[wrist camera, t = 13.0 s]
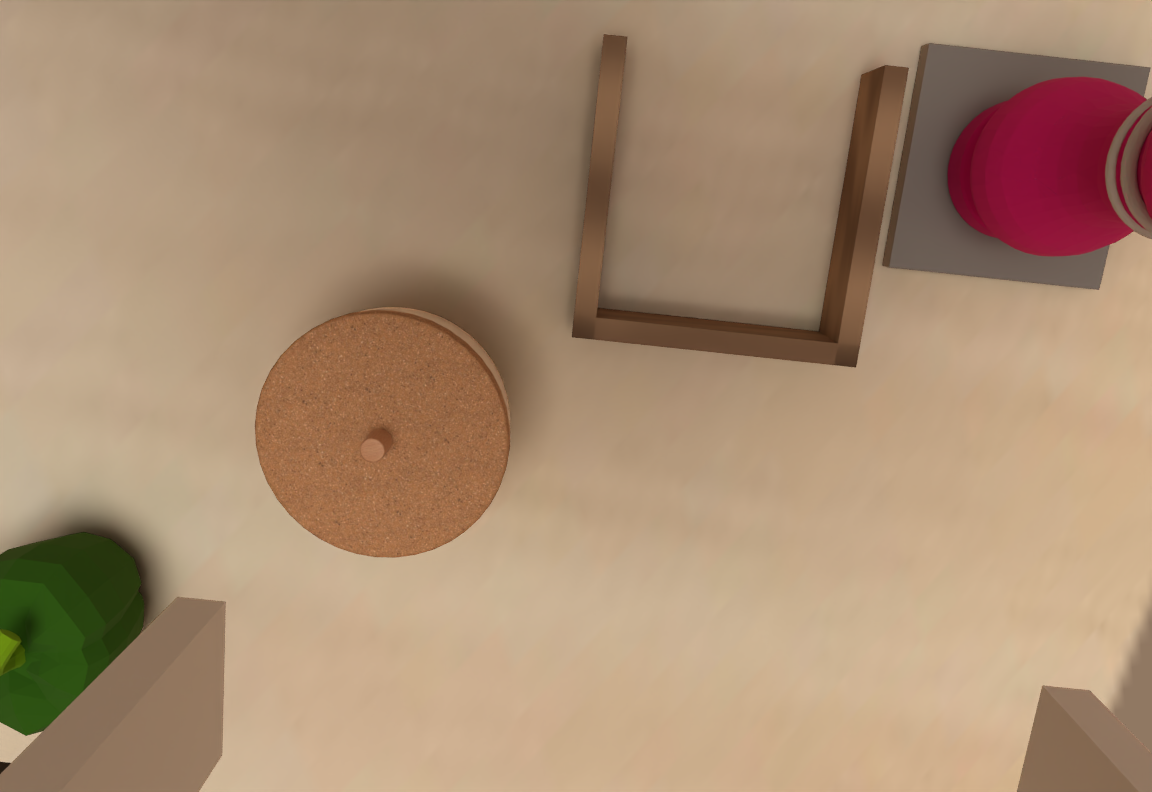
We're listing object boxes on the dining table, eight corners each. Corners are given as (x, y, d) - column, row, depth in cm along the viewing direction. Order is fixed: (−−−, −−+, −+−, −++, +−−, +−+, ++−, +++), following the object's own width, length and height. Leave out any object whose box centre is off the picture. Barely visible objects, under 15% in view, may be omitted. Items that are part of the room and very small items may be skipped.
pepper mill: (943, 86, 42) (1254, 2, 22) (1104, 88, 42) (1558, 4, 22) (927, 248, 43) (1205, 302, 24) (1083, 250, 43) (1488, 305, 24)
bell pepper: (84, 684, 50) (-38, 805, 40) (-15, 563, 49) (-165, 658, 39) (207, 609, 49) (113, 714, 39) (111, 483, 48) (-12, 560, 38)
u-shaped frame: (602, 46, 43) (603, 34, 39) (883, 77, 43) (908, 67, 39) (572, 325, 45) (571, 337, 42) (835, 353, 46) (856, 367, 42)
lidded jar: (281, 316, 46) (204, 349, 36) (493, 270, 45) (469, 291, 36) (340, 518, 48) (282, 597, 39) (542, 476, 47) (531, 546, 38)
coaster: (921, 46, 42) (929, 43, 41) (1137, 70, 42) (1150, 67, 41) (882, 265, 45) (889, 267, 44) (1087, 287, 45) (1099, 289, 44)
